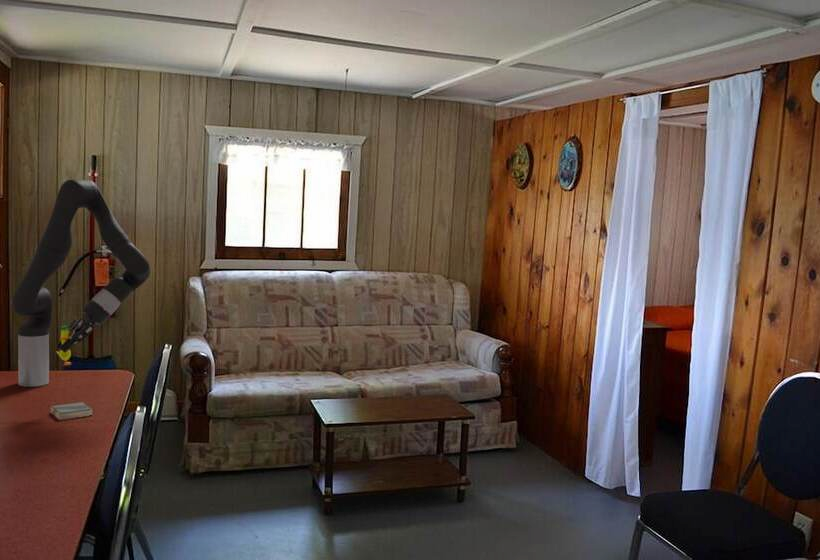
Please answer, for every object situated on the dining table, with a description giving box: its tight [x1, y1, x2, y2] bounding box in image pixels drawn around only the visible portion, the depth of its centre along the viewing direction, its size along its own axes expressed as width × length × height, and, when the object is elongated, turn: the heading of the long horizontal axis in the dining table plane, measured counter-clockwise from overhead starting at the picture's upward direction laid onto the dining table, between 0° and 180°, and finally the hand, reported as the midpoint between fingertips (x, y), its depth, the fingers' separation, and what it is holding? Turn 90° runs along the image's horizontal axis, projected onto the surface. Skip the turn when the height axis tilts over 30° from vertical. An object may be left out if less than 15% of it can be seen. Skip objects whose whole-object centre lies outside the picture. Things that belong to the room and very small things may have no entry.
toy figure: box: [55, 325, 78, 366], centre depth 215 cm, size 7×4×12 cm, turn 111°
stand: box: [50, 401, 93, 421], centre depth 209 cm, size 9×9×2 cm
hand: (60, 349), depth 213 cm, fingers closed on toy figure, 3 cm apart
